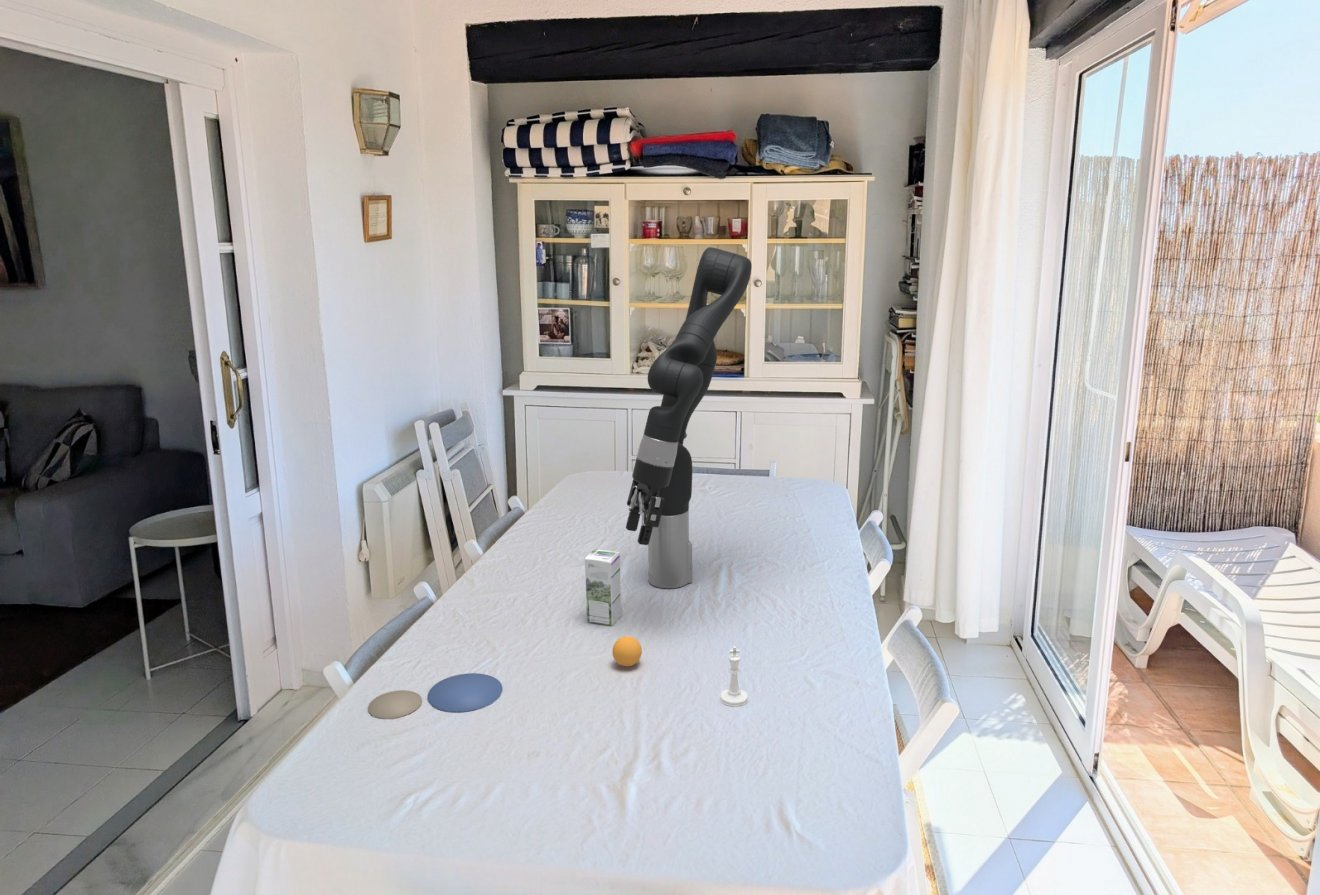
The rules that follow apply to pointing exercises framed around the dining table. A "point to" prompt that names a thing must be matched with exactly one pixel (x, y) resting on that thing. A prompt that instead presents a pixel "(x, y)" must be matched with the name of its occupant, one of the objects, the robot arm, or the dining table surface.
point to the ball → (627, 651)
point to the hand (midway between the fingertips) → (636, 536)
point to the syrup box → (603, 587)
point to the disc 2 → (465, 692)
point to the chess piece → (734, 684)
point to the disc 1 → (395, 704)
